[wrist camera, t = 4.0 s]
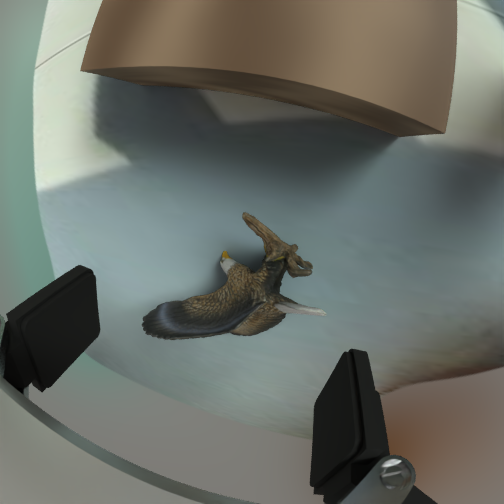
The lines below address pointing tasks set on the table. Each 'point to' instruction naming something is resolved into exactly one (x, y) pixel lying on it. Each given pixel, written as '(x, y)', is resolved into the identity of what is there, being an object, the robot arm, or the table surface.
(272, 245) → the eagle figurine
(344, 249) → the table surface
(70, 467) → the robot arm
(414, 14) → the walnut block
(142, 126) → the table surface
